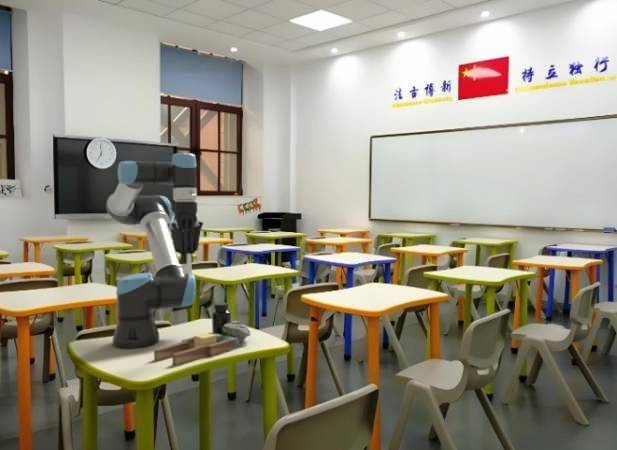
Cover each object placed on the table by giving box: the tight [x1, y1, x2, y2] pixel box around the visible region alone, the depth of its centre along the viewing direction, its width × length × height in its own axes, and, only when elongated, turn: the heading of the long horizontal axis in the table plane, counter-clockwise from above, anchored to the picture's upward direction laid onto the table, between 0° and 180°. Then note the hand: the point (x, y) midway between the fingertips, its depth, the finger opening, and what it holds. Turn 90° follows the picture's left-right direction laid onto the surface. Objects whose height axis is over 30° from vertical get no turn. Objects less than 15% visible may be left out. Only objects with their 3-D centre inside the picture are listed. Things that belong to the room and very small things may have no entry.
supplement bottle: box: [211, 302, 233, 335], centre depth 178 cm, size 7×7×12 cm
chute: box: [153, 332, 240, 367], centre depth 159 cm, size 14×24×3 cm, turn 144°
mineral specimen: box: [222, 320, 252, 342], centre depth 171 cm, size 10×8×10 cm
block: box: [193, 332, 217, 348], centre depth 161 cm, size 5×5×5 cm
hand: (187, 273), depth 165 cm, fingers closed
